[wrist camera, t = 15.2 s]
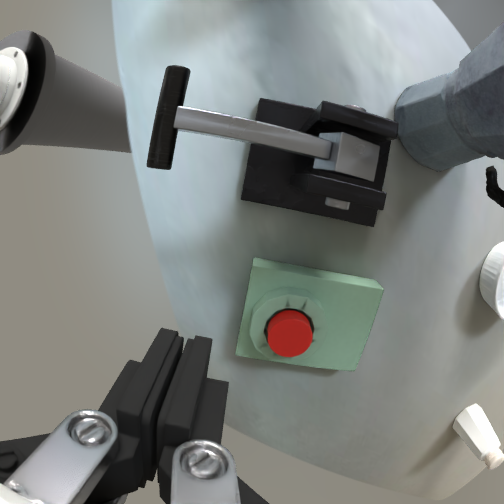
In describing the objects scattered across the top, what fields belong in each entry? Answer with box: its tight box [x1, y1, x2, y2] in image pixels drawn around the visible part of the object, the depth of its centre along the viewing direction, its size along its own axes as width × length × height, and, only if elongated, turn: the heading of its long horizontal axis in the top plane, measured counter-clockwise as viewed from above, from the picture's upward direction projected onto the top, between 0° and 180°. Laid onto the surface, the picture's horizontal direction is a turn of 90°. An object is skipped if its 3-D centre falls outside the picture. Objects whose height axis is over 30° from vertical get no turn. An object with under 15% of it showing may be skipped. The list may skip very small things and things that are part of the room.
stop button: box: [268, 310, 313, 357], centre depth 25 cm, size 4×4×2 cm
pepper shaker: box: [453, 404, 504, 470], centre depth 28 cm, size 5×5×11 cm
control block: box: [235, 257, 384, 371], centre depth 28 cm, size 12×9×4 cm
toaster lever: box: [147, 65, 380, 182], centre depth 15 cm, size 12×5×2 cm, turn 79°
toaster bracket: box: [241, 98, 399, 227], centre depth 21 cm, size 12×9×12 cm
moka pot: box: [395, 22, 504, 208], centre depth 15 cm, size 10×15×20 cm, turn 6°
